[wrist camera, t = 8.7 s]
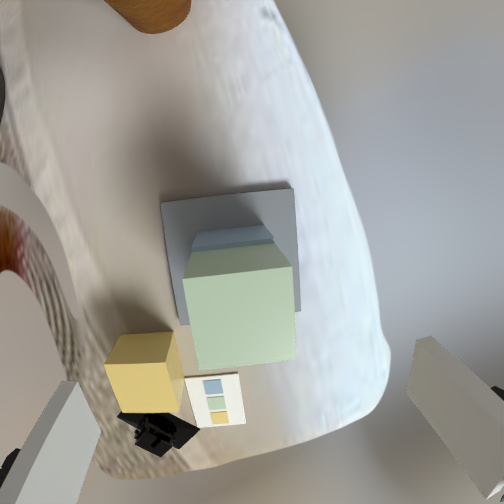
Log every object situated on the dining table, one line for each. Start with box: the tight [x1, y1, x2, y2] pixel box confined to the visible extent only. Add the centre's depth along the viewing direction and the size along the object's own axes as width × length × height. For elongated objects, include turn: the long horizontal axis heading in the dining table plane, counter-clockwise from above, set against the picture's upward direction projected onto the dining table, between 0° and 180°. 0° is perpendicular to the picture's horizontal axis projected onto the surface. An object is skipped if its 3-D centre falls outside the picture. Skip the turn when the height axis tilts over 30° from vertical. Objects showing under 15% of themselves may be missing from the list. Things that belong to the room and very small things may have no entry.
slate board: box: [160, 188, 301, 325], centre depth 30 cm, size 12×12×1 cm
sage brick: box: [182, 243, 297, 370], centre depth 21 cm, size 6×6×6 cm
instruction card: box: [184, 373, 246, 428], centre depth 34 cm, size 8×6×1 cm
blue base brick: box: [191, 225, 275, 252], centre depth 27 cm, size 6×6×6 cm
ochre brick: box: [104, 331, 185, 413], centre depth 29 cm, size 6×6×6 cm
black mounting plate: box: [117, 411, 200, 457], centre depth 33 cm, size 12×7×5 cm, turn 52°
